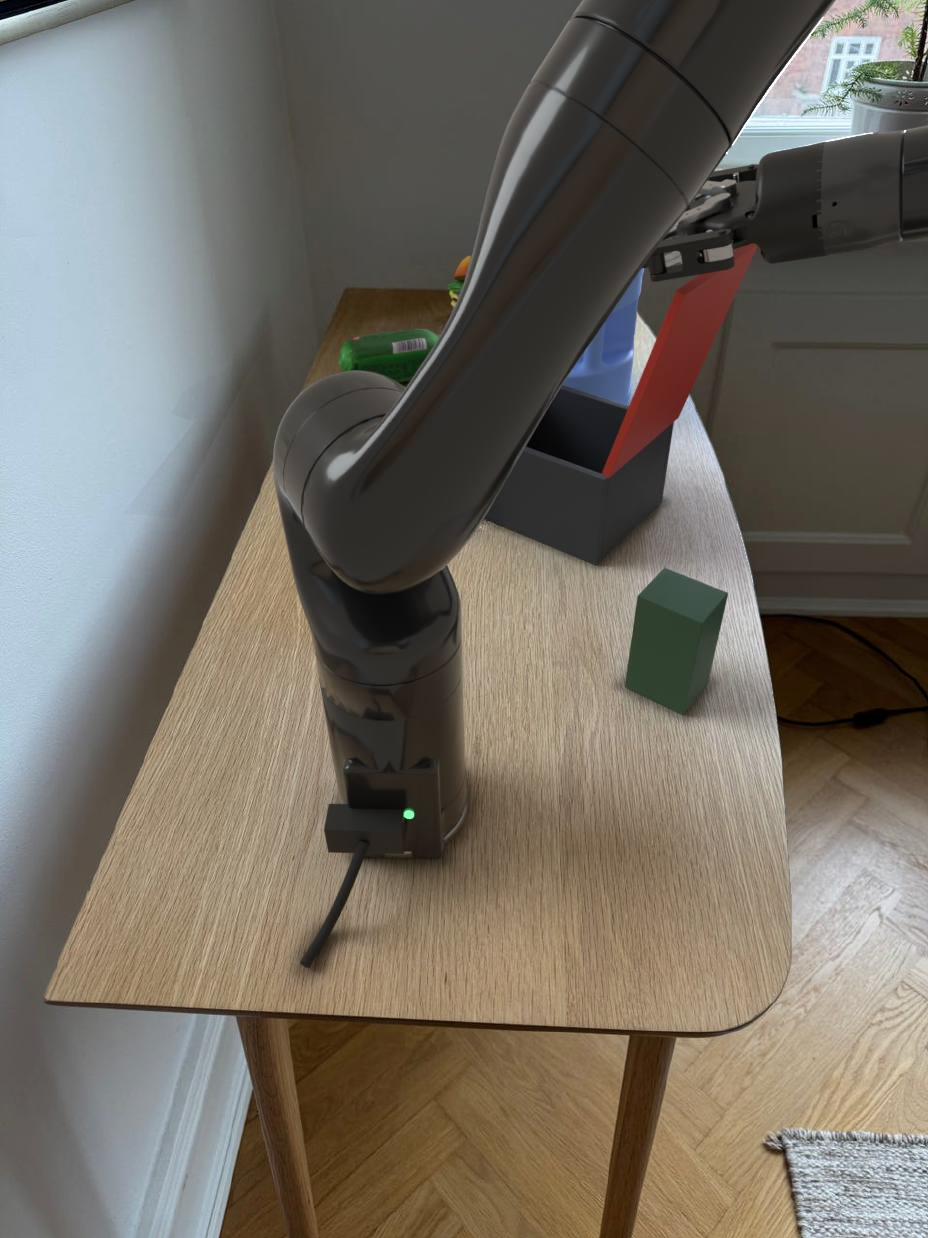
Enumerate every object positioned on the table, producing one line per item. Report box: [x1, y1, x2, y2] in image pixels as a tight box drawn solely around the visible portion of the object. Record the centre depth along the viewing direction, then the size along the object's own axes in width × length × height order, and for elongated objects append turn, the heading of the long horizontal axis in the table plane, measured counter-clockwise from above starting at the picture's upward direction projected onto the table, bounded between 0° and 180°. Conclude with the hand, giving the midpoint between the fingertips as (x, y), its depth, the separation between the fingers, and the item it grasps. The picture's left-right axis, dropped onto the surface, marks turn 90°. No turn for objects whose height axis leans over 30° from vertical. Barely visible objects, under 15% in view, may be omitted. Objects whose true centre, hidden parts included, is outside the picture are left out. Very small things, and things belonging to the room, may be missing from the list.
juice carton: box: [624, 567, 729, 716], centre depth 74 cm, size 4×6×10 cm
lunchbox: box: [483, 385, 675, 566], centre depth 94 cm, size 18×14×10 cm
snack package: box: [337, 328, 440, 384], centre depth 119 cm, size 7×16×5 cm, turn 105°
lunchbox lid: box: [602, 244, 759, 478], centre depth 80 cm, size 18×14×1 cm
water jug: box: [563, 268, 645, 406], centre depth 106 cm, size 16×16×28 cm
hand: (612, 235), depth 72 cm, fingers open, 8 cm apart
